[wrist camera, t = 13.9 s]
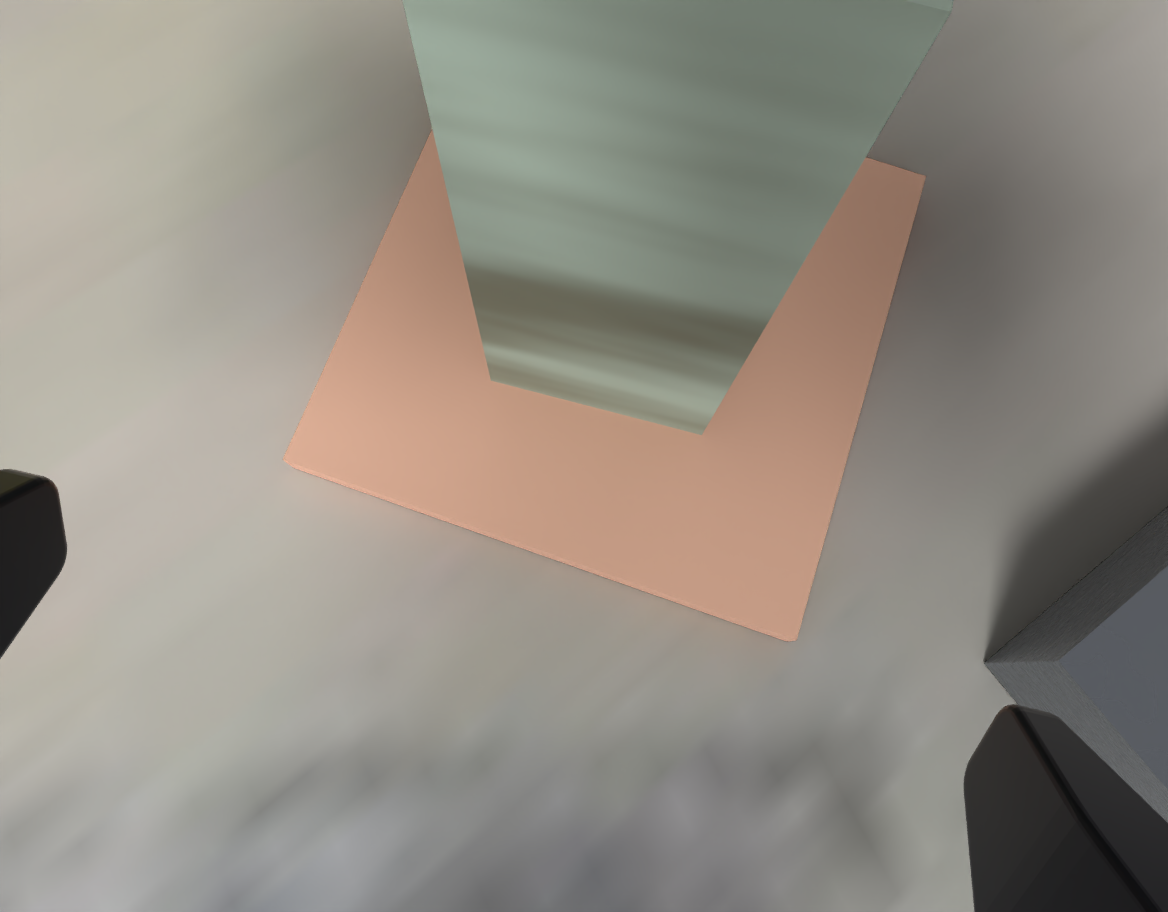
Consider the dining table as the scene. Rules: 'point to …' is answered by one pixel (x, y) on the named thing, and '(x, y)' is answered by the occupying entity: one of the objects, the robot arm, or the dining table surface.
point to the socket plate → (1106, 662)
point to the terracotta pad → (615, 419)
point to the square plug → (650, 175)
